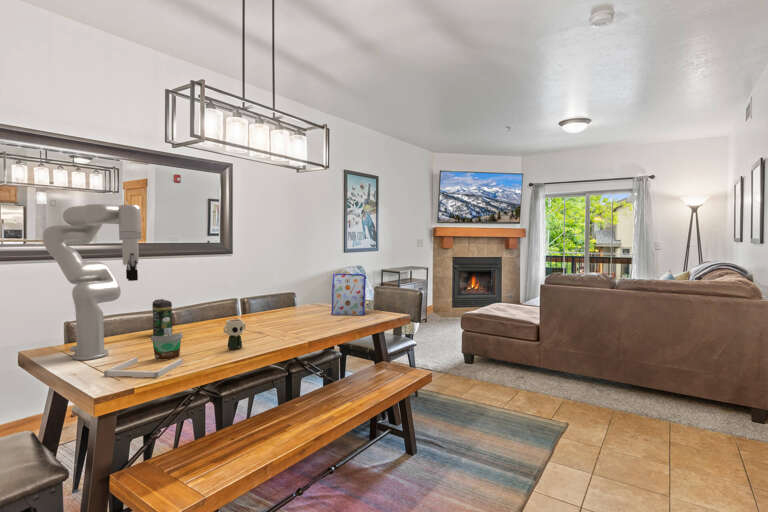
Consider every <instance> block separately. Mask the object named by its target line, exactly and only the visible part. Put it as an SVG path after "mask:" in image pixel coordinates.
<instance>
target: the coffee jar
mask: <svg viewBox="0 0 768 512" xmlns="http://www.w3.org/2000/svg"><path fill="white" fill-rule="evenodd" d="M151 307H152V335H153V336H163V335H166V334H173V321H172V320H173V319H172V318H173V316H172V315H173V314H172V312H173V311H172V309H173V304H172V301H170V300H167V299H163V298H161V299H160V298H159V299H155V300H153V301H152V306H151Z"/></svg>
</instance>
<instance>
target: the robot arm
mask: <svg viewBox="0 0 768 512" xmlns="http://www.w3.org/2000/svg"><path fill="white" fill-rule="evenodd" d="M141 214H142V213H141V207H140V206H139V205H137V204H121V205H119V204H106V203H94V204H85V205H74V206H70V207H68V208H66V209H65V210H64V211H63V213H62V218H63V221H64V222H65V223H66V224H58V225H57V224H56V225H51V226H48V227H47V228H45V230H44V231H43V233H42V241H43V245H44V247H45V249H46V251H47V252H48V253H49V254H50V256H51V257H52V258H53V259H54V260H55V261H56V263H57V265H58V266H59V268H60V270H61V271H62V273H63V275H64V277H65V278H66V280H67V281H68V282H69V283H70V284H72V285H75V286H73V289H72V290H71V295H72V300H73V304H74V310H75V331H76V332H75V335H76V336H75V337H76V345H71V347H70V348H69V349H68V351H69V352H74V354H72V359H73V360H76V361H87V360H97V359H100V358H103V357H107V355H109V350H108V349H105V333H104V332H105V331H104V330H105V328H104V327H105V326H104V322H105V321H104V312H103V311H102V309H101V308H100V306H99V304H103V303H108V302H113V301H116V300H118V299H119V298H120V296H121V294H122V293H121V291H122V290H121V286H120V284H119V282H118V281H117V279H116V278H115V275H114V274H113V273H112V271H111V269H110V268H109V267H108V265H107V264H105V262H102V261H86V260H84V259H83V258H82V256H81V254H80V253H79V252H78V251H77V250H75V249H74V248H73V247H71V245H88V244H89V243H91V242H92V241H93V240H94V238H95V237H96V235H97V234H98V232H99V231H100V229H101V228H102V226H103V224H104V225H106V224H109V225H111V224H113V225H118V240H119V241H121V242H122V243H121V246H122V247H121V251H122V265H123V266H126V268H125V270H126V271H125V275H126V277H125V278H126V280H127V281H129V282H135V281H138V280H139V275H138V274H139V273H138V265H139V252H140V251H139V250H140V249H139V241H142V215H141ZM69 245H70V246H69Z"/></svg>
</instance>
